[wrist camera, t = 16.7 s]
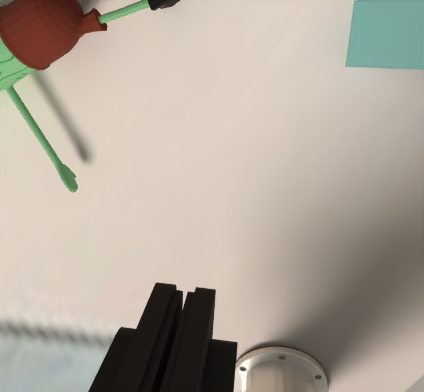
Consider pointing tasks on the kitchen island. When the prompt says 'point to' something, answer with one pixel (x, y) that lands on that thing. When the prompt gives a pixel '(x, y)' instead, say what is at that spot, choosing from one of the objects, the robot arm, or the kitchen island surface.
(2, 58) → the toy
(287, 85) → the kitchen island surface
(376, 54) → the domino
